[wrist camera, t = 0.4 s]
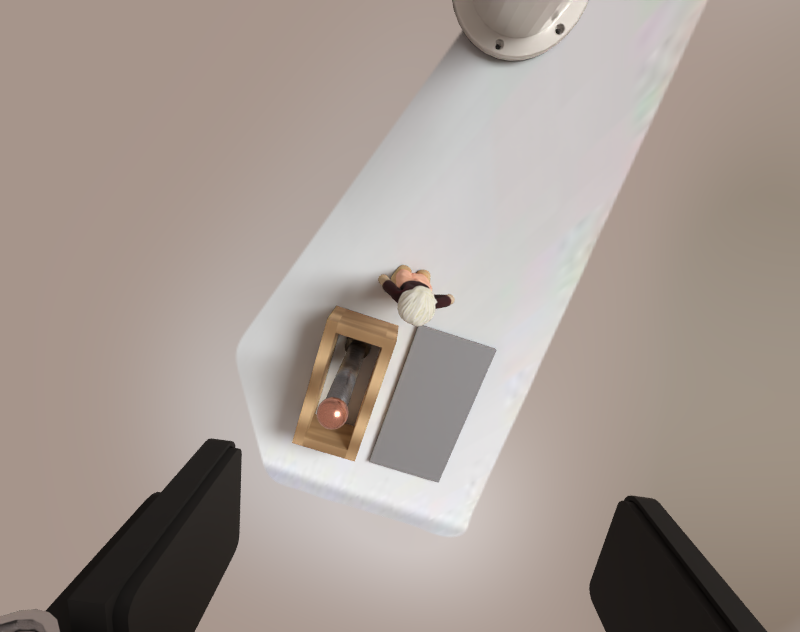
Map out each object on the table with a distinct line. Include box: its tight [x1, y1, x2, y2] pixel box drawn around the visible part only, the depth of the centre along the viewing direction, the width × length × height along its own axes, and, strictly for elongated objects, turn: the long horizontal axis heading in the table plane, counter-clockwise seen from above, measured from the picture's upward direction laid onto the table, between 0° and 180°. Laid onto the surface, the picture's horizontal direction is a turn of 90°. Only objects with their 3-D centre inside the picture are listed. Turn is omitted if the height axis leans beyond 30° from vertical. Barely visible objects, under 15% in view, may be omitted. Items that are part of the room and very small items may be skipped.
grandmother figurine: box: [378, 265, 454, 326], centre depth 38 cm, size 8×4×13 cm, turn 85°
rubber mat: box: [369, 325, 496, 482], centre depth 48 cm, size 20×10×1 cm, turn 162°
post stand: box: [317, 337, 371, 429], centre depth 39 cm, size 3×3×16 cm
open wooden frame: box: [292, 306, 398, 461], centre depth 45 cm, size 16×8×5 cm, turn 162°
